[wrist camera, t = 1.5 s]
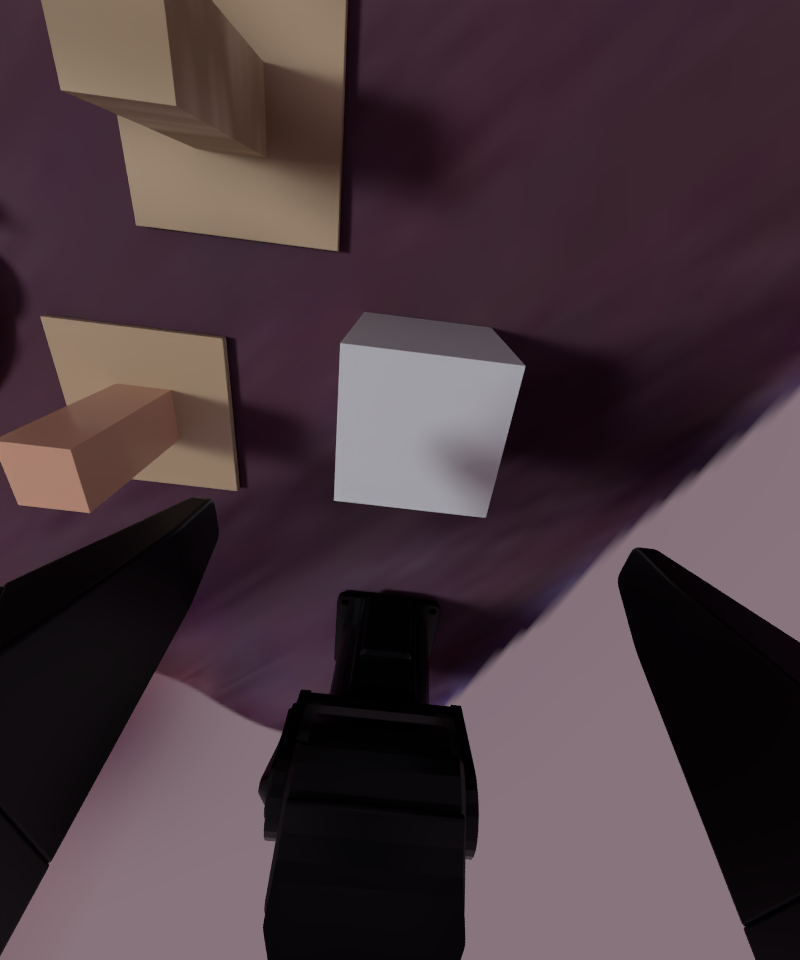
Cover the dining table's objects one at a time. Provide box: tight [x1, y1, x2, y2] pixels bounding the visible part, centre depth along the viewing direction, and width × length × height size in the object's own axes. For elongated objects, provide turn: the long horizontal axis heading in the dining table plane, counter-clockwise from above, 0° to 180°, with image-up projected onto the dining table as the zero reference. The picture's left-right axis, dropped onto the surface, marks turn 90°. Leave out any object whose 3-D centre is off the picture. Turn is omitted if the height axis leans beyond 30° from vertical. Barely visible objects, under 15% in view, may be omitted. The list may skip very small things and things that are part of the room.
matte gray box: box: [334, 312, 525, 518], centre depth 17 cm, size 6×6×7 cm
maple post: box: [41, 0, 348, 251], centre depth 12 cm, size 8×8×7 cm
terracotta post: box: [0, 315, 240, 513], centre depth 18 cm, size 8×8×7 cm
